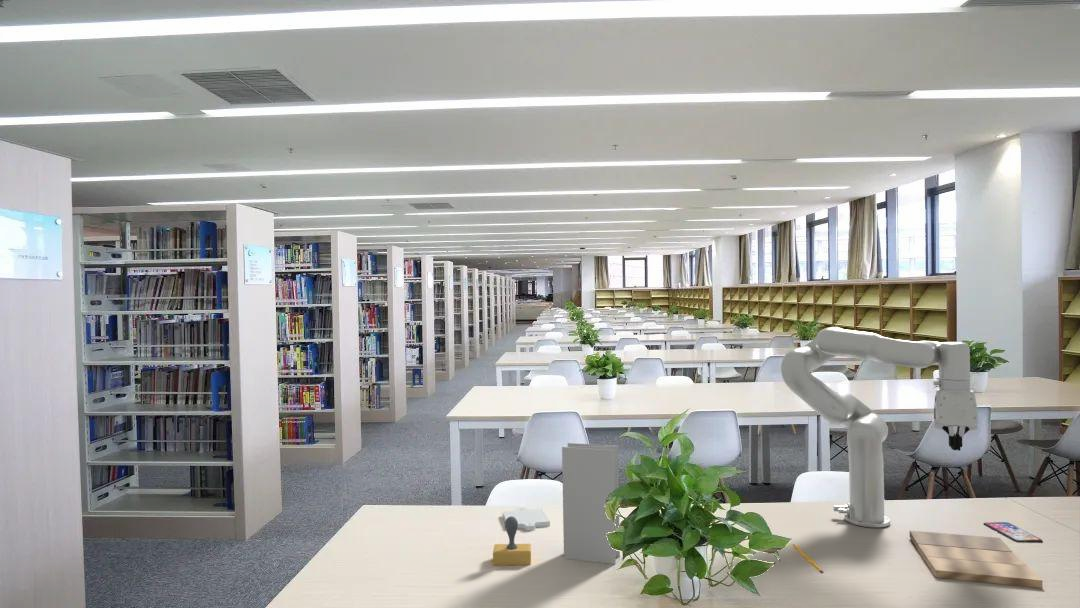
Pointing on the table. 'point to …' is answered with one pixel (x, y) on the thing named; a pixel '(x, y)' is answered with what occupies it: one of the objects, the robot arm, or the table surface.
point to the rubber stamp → (512, 548)
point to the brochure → (588, 501)
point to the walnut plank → (958, 541)
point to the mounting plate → (528, 518)
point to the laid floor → (978, 565)
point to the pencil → (808, 559)
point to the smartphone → (1012, 532)
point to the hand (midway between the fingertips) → (955, 449)
